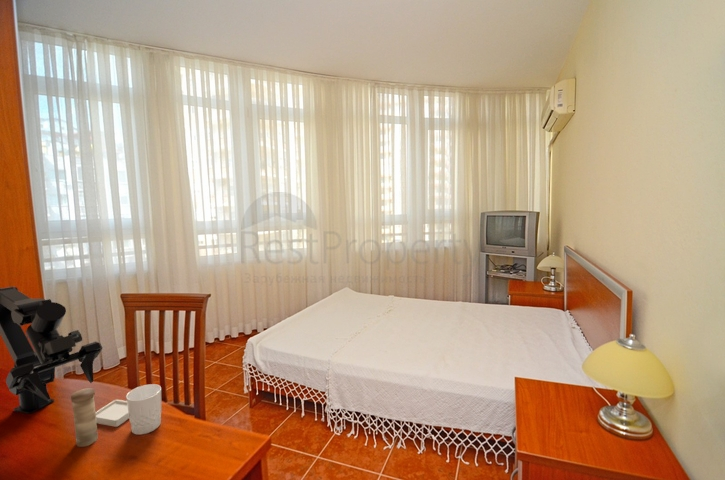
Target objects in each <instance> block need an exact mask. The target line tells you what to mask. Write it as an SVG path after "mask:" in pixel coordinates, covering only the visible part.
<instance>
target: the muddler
mask: <svg viewBox="0 0 725 480" xmlns="http://www.w3.org/2000/svg"><path fill="white" fill-rule="evenodd" d="M95 393H96V391H95V388H92V387H86V388H82V389H78V390H76V391H74V392H73V393H72V394H71V395H70V401H71V402H72V412H73V420H74V422H73V423H74V431H75V433H74V434H75V440H76V443H75V444H76V446H77V447H79V448H83V447H84V448H85V447H88V446H90V445H92V444H94V443H95V442H96V441H97V440H98V438H99V436H98V434H99V433H98V426H97V425H98V423H96V403H95V395H96V394H95Z"/></svg>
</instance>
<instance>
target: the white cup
mask: <svg viewBox="0 0 725 480" xmlns="http://www.w3.org/2000/svg"><path fill="white" fill-rule="evenodd" d="M125 398H126V401H127V406H128V414H129V422H130V427H131V429H130V431H131V432H132V434H134V435H141V436H142V435H146V434H149V433H151V432H153V431H155V430H157V429H158V428H159V426H160V425H161V424H162V421H161V420H162V387H161V385H159V384H156V383H152V384H151V383H150V384H144V385H140V386H137V387H135V388H133V389H132V390H130V391H129V392H128V393H127V394H126V396H125Z"/></svg>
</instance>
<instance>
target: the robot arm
mask: <svg viewBox="0 0 725 480" xmlns="http://www.w3.org/2000/svg"><path fill="white" fill-rule="evenodd" d="M66 314H67V308H66V306H64V305H63V304H60V303H59V302H52V299H44V298H31V297H29V296H28V295H26V294H24V293H23V292H21V291H20V290H19V289H18V287H17V286H8V287H7V286H6V287H2V288H0V336H1V338H2V341H3V342H4V344H5V347H6V349H7V350H8V353H9V355H10V357H11V358H12V360H13V362H14V365H13V368H11V369H10V371H9V372H8V375H7V377H6V379H5V383H6V386H7V388H8V389H9V392H10V393H12V394H13V395H14V396H18V403H19V405H18V406H17V407H15V408H13V411H14V412H18V413H24V414H29V415H30V414H33V413H35V412H36V411H38V410H41V409H43V408H44V407H46V406H48V405H50V404H51V403H53V402H55V399H53V398H51V397H50V396H51V395H50V394H49V392H48V388H47V386H48V384H50V383H54V380H55V371H56V368H57V367H60V366H64V365H65V364H68V363H69V364H70V363H73V362H74V361H75V362H76V361H79V362H80V365H79V367H80V368H81V369H82V371H83V373H84V376H85V377H86V379H87V381H88V382H89V383H90V384H92V383H93V382H94V361H95V359H97V358H98V357H99V355H100V353H101V352H102V350H103V345H102V344H101V343H100V342H98V341H93V342H91V343H87V344H84V345H82V346H80V349H79V351H76V352H74V353H72V352H73V348H76V346H77V344H78V343H80V342H82V341H83V336H82V333H81V332H80V330H79V329H76V330H73V331H70V332H68V334H67V335H66V336H63V335H60V332H59V331H58V328H59V327H60V326H61V324H62V322H63V319H64V318H65V315H66ZM25 325H29V326H27V328H26V330H25V332H24V329H23V327H22V326H25ZM70 353H71V354H70Z"/></svg>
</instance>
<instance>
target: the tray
mask: <svg viewBox="0 0 725 480" xmlns="http://www.w3.org/2000/svg"><path fill="white" fill-rule="evenodd" d="M95 412H96V423H97V425H98V424H99V425H105V426H109V427H110V426H111V427H115V428H117V427H119V426H120V425H122V424H123V423H125V422H126V421H127V420H128V419H129V414H128V406H127V400H122V399H116V398H115V399H114V400H112V401H111V402H109V403H108V404H106V405H104V406H103V407H101V408H99V409H98V410H97V411H96V410H95ZM129 420H130V419H129Z"/></svg>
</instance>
